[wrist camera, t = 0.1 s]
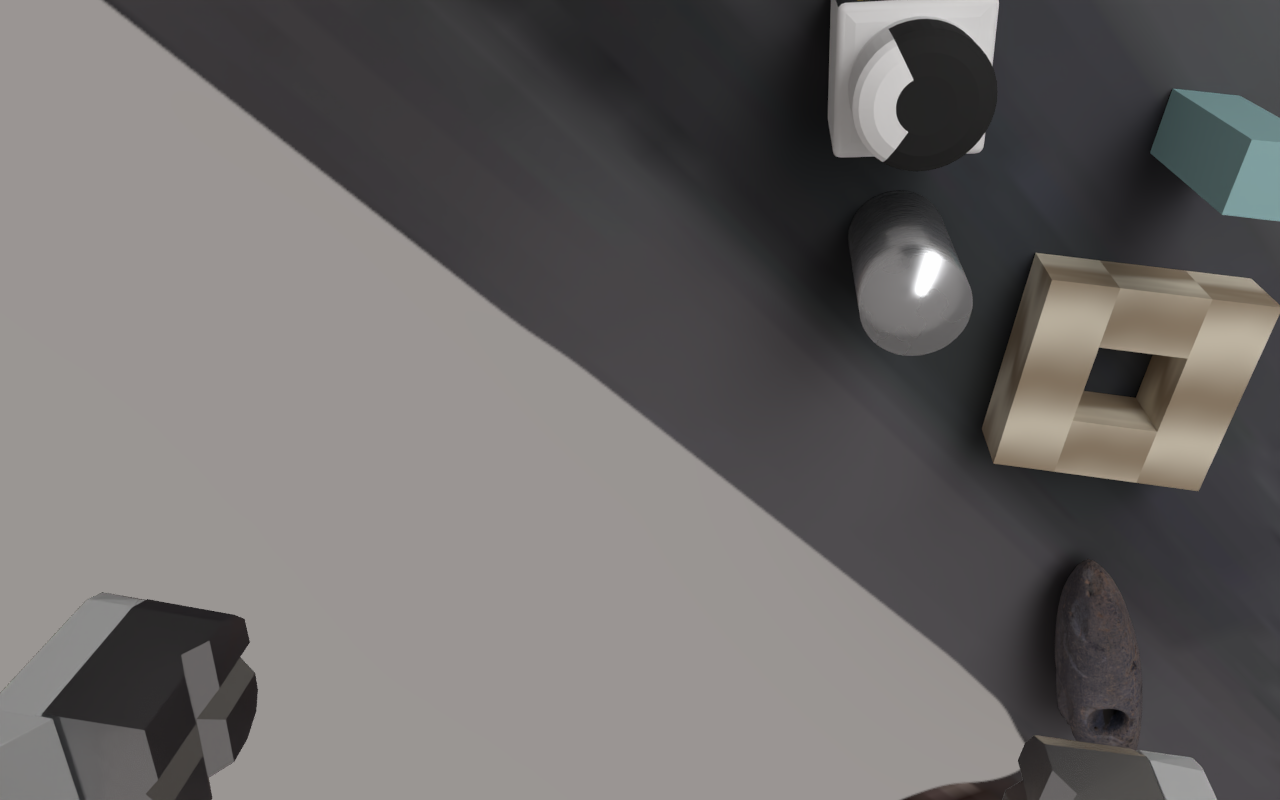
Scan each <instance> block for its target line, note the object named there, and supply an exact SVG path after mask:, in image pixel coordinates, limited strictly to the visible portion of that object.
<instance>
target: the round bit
mask: <svg viewBox="0 0 1280 800" xmlns="http://www.w3.org/2000/svg"><path fill="white" fill-rule="evenodd" d="M848 244H849V251H850V257H851V263H852V269H853V276H854V282H855V288H856V294H857V301H858V307H859V313H860V319H861V323H862V326H863V328H864V330H865V332H866V333H867V335H868V336H869V337H870V338H871V340H872V341H873V342H875V343H876V344H877V345H878V346H880V347H881V348H883V349H885V350H887V351H889V352H892V353H895V354H899V355H906V356H917V355H924V354H928V353H932V352H934V351H937V350H939V349H941V348H943V347H945V346H947V345H948V344H949V343H951V342H952V341H953V340H954V339H956V338H957V337H958V336H959V334H960V333H961V332H962V331H963V329H964V328H965V326H966V325H967V323H968V321H969V318H970V315H971V311H972V305H973V298H972V292H971V288H970V285H969V283H968V281H967V278H966V276H965V273H964V271H963V269H962V266H961V264H960V261H959V259H958V257H957V254H956V252H955V249H954V247H953V245H952V242H951V240H950V237H949V235H948V233H947V230H946V228H945V225H944V223H943V221H942V218H941V216H940V214H939V212H938V210H937V208H936V207H935V206H934V205H933V204H932V203H931V202H930V201H929V200H928V199H926V198H925V197H923V196H921V195H919V194H917V193H914V192H910V191H901V190H898V191H890V192H885V193H882V194H879V195H877V196H875V197H873V198H872V199H870V200H869V201H867V202H866V203H865V204H864V205H863V206H862V207H861V208H860V209H859V210H858V211H857V213H856V214H855V216H854V217H853V219H852V222H851V224H850V227H849V232H848Z"/></svg>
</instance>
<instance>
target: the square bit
mask: <svg viewBox="0 0 1280 800" xmlns="http://www.w3.org/2000/svg"><path fill="white" fill-rule="evenodd" d="M1150 153H1151V154H1152V155H1153V156H1154V157H1155V158H1157V159H1158V160H1159V161H1160V162H1161V163H1162V164H1164V165H1165V166H1166V167H1167V168H1168V169H1169V170H1171V171H1172V172H1173V173H1174V174H1175V175H1176V176H1178V177H1179V178H1180V179H1181V180H1182V181H1183V182H1184V183H1186V184H1187V185H1188V186H1189V187H1190V188H1191V189H1193V190H1194V191H1195V192H1196V193H1197V194H1198V195H1200V196H1201V197H1202V198H1203V199H1204V200H1205V201H1207V202H1208V203H1209V204H1210V205H1211V206H1212V207H1214V208H1215V209H1216V210H1217V211H1218V212H1219V213H1221V214H1222V215H1230V216H1239V217H1248V218H1256V219H1265V220H1273V221H1280V118H1279V117H1277V116H1275V115H1273V114H1271V113H1270V112H1268V111H1266V110H1264V109H1263V108H1261V107H1259V106H1257V105H1255V104H1254V103H1252V102H1250V101H1248V100H1247V99H1245V98H1243V97H1241V96H1237V95H1228V94H1219V93H1209V92H1200V91H1191V90H1181V89H1172V92H1171V95H1170V97H1169V100H1168V103H1167V106H1166V109H1165V112H1164V115H1163V117H1162V120H1161V123H1160V126H1159V129H1158V132H1157V135H1156V137H1155V140H1154V143H1153V146H1152V149H1151V152H1150Z"/></svg>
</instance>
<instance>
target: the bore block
mask: <svg viewBox="0 0 1280 800" xmlns="http://www.w3.org/2000/svg"><path fill="white" fill-rule="evenodd" d="M1279 314H1280V305H1279V304H1278V303H1277V302H1276V301H1275V300H1273V299H1272V298H1271V297H1270V296H1269V295H1268V294H1267V293H1266V292H1265V291H1264V290H1263V289H1262V288H1261V287H1260V286H1259V285H1257V284H1256V283H1255V282H1254V281H1253V280H1252V279H1251V278H1242V277H1234V276H1226V275H1217V274H1209V273H1201V272H1192V271H1184V270H1176V269H1167V268H1159V267H1151V266H1142V265H1134V264H1126V263H1117V262H1109V261H1100V260H1092V259H1084V258H1075V257H1067V256H1059V255H1050V254H1042V253H1035V256H1034V260H1033V263H1032V266H1031V269H1030V273H1029V276H1028V279H1027V282H1026V286H1025V289H1024V292H1023V296H1022V299H1021V302H1020V305H1019V309H1018V312H1017V315H1016V318H1015V322H1014V325H1013V328H1012V331H1011V335H1010V338H1009V341H1008V345H1007V348H1006V351H1005V354H1004V358H1003V361H1002V364H1001V367H1000V371H999V374H998V377H997V381H996V384H995V387H994V390H993V394H992V397H991V400H990V403H989V407H988V410H987V413H986V416H985V420H984V423H983V426H982V431H983V434H984V437H985V440H986V443H987V446H988V449H989V452H990V455H991V458H992V461H993V463H994V464H1002V465H1009V466H1017V467H1024V468H1031V469H1039V470H1046V471H1054V472H1061V473H1068V474H1076V475H1083V476H1091V477H1098V478H1105V479H1113V480H1120V481H1128V482H1135V483H1142V484H1150V485H1157V486H1165V487H1172V488H1179V489H1187V490H1194V491H1199V489H1200V487H1201V484H1202V482H1203V480H1204V478H1205V476H1206V474H1207V471H1208V469H1209V467H1210V465H1211V463H1212V460H1213V458H1214V456H1215V454H1216V452H1217V449H1218V447H1219V445H1220V443H1221V441H1222V439H1223V436H1224V434H1225V432H1226V430H1227V428H1228V425H1229V423H1230V421H1231V419H1232V417H1233V415H1234V412H1235V410H1236V408H1237V406H1238V404H1239V401H1240V399H1241V397H1242V395H1243V393H1244V391H1245V388H1246V386H1247V384H1248V382H1249V380H1250V377H1251V375H1252V373H1253V371H1254V369H1255V366H1256V364H1257V362H1258V360H1259V358H1260V356H1261V353H1262V351H1263V349H1264V347H1265V345H1266V342H1267V340H1268V338H1269V336H1270V334H1271V332H1272V329H1273V327H1274V325H1275V323H1276V321H1277V318H1278V316H1279ZM1099 348H1107V349H1115V350H1123V351H1131V352H1139V353H1147V354H1153V355H1152V358H1151V360H1150V363H1149V365H1148V368H1147V371H1146V373H1145V376H1144V378H1143V381H1142V383H1141V386H1140V388H1139V391H1138V393H1137V396H1136V398H1135V397H1127V396H1119V395H1111V394H1104V393H1096V392H1088V391H1084V388H1085V385H1086V382H1087V380H1088V377H1089V374H1090V371H1091V368H1092V366H1093V363H1094V360H1095V357H1096V355H1097V352H1098V349H1099Z"/></svg>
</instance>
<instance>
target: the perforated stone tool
mask: <svg viewBox="0 0 1280 800" xmlns="http://www.w3.org/2000/svg"><path fill="white" fill-rule="evenodd" d="M1055 666H1056V668H1057V669H1056V691H1057V693H1056V694H1057V706H1058V709H1059V711H1060V713H1061V715H1062V716H1063V717H1064V718H1065V719H1066V721H1067V723H1068V724H1069V725H1070V727H1071V729H1072V733H1073V736H1074V737H1075V739H1076V741H1079V742H1086V743H1094V744H1101V745H1108V746H1115V747H1122V748H1129V749H1133V750H1135V751H1136V750H1137V746H1138V741H1139V735H1140V727H1141V718H1142V673H1141V663H1140V655H1139V649H1138V645H1137V640H1136V636H1135V632H1134V628H1133V625H1132V622H1131V619H1130V616H1129V613H1128V610H1127V607H1126V604H1125V602H1124V600H1123V597H1122V595H1121V593H1120V591H1119V589H1118V587H1117V586H1116V584H1115V582H1114V581H1113V579H1112V578H1111V577H1110V575H1109V574H1108V573H1107V572H1106V570H1105V569H1104V568H1103V567H1101V566H1100V565H1099V564H1098V563H1096V562H1095V561H1093V560H1089V559H1087V560H1085V561H1083V562H1081V563H1080V564H1078V565H1077V566H1076V567H1075V569H1074V570H1073V571H1072V573H1071V574H1070V575H1069V577H1068V579H1067V581H1066V583H1065V585H1064V588H1063V591H1062V594H1061V597H1060V601H1059V606H1058V612H1057V620H1056V632H1055Z"/></svg>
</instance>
